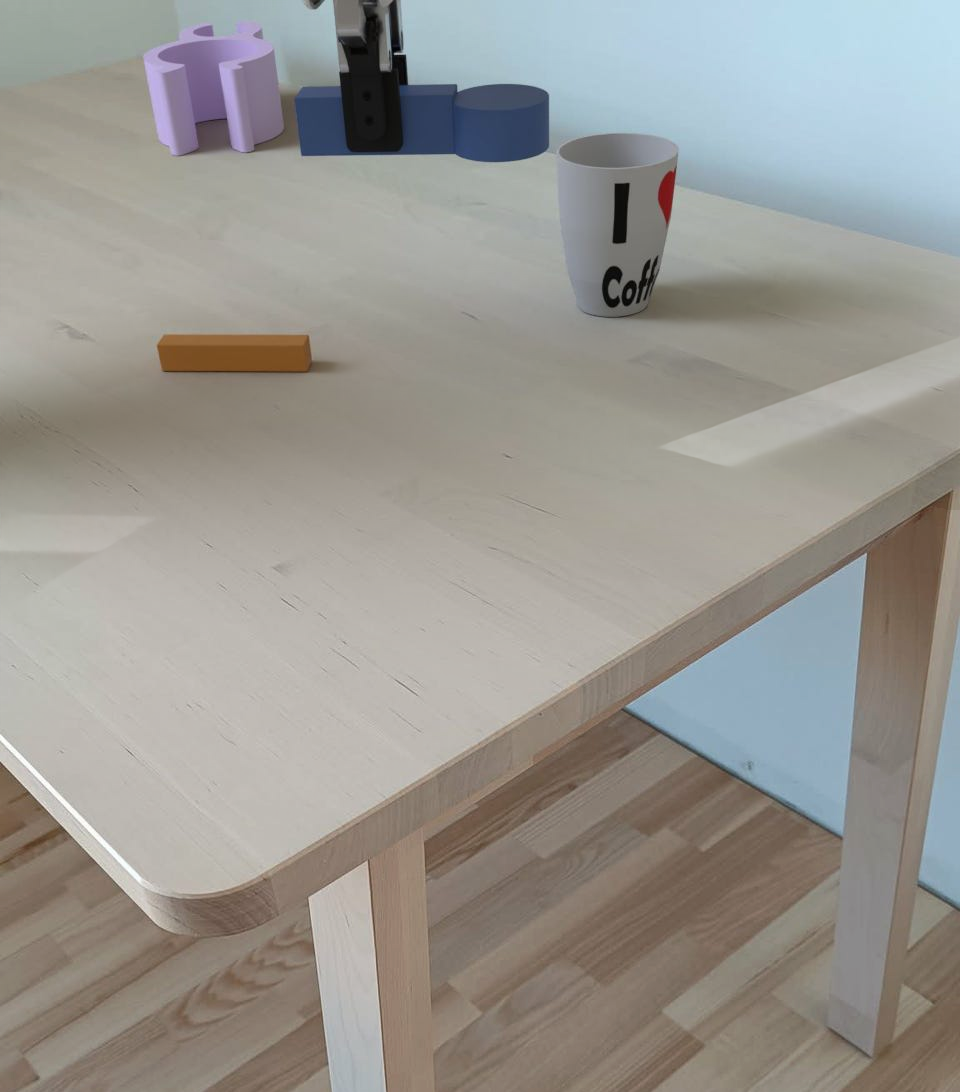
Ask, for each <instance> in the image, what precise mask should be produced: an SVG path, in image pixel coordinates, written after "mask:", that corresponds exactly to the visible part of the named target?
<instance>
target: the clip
mask: <svg viewBox="0 0 960 1092" xmlns="http://www.w3.org/2000/svg"><path fill="white" fill-rule="evenodd" d="M262 27H263V26H262V25H261V24H259V23H257V22H252V21H246V20H242V21H237V22H235V28H236V33H234V34H230V35H222V36H221V35H219V36H215V33H214V26H213V23H211V22H204V23H197V24H194V25H190V26H187V27H185V28H182V29H181V30H180V31H179V33H178V35H179V36H178V37H179V39H178V40H175V41H172V42H168V43H165V44H161V45H158V46H156V47H154V48H151V49H149V50H148V51H146V52H145V53H144V54H143V55H142V59H143V65H144V69H145V75H146V80H147V86H148V91H149V96H150V101H151V107H152V111H153V116H154V122H155V126H156V132H157V138H158V141H159V142H160V143H161V144H162V145H165V146H167V147H169V150H170V155H172V156H176V157H177V156H178V157H179V156H184V155H186V154H189V153H192V152H194V151H197V149H199V147H200V146H199V141H198V133H197V127H196V124H197V123H201V122H206V121H211V120H212V121H213V120H223V119H224V120H225V119H226V120H227V121H226V122H227V127H228V133H229V139H230V146H231V147H232V149H233V150H234V151H235V150H236V151H238V152H239V153H240V152H241V153H250V152H255V145H259V144H262V143H264V142H268V141H270V140H272V139H274V138H276V137H278V136H279V135H281V134H282V133H283V132H284V129H285V123H284V116H283V109H282V107H283V106H282V101H281V94H280V86H279V78H278V68H277V61H276V55H275V54H276V53H275V46H274V44H273V43H272V42H270V41H268V40H265V39H264V34H263V33H264V32H263V28H262Z"/></svg>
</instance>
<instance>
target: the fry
mask: <svg viewBox="0 0 960 1092" xmlns="http://www.w3.org/2000/svg"><path fill="white" fill-rule="evenodd" d="M311 348H312V347H311V341H310V335H309V334H183V333H182V334H167V333H166V334H163V335H162V336H161V338H160V340H159V341H158V342H157V344H156V349H157V353H158V357H159V362H160V367H161V371H163V372H293V373H295V372H296V373H297V372H302V373H303V372H304V373H305V372H308V370H309V368H310V366H311V364H312V362H313V357H312V349H311Z"/></svg>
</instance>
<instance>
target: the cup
mask: <svg viewBox="0 0 960 1092" xmlns="http://www.w3.org/2000/svg"><path fill="white" fill-rule="evenodd" d="M679 151H680V148H679V146H678V144H676V143H675V142H674V141H672V140H669V139H668V138H665V137H661V136H657V135H652V134H646V133H636V132H609V133H608V132H606V133H597V134H590V135H585V136H580V137H576V138H573V139H570V140H568V141H566V142H563V143H562V144H560V145H559V146H558V147H557V148H556V150H555V159H556V176H557V196H558V199H557V200H558V217H559V225H560V232H561V237H562V243H563V245H562V246H563V250H564V259H565V264H566V270H567V274H568V277H569V281H570V284H571V288H572V291H573V294H574V298H575V302H576V305H577V307H578V309H579V310H580V311H582V312H584V313H586V314H589V315H592V316H597V317H606V318H617V317H625V316H631V315H634V314H637V313H639V312H642V311H643V310H645V309H646V308H647V306H648V304H649V301H650V298H651V295H652V293H653V290H654V286H655V284H656V281H657V278H658V275H659V272H660V270H661V265H662V261H663V257H664V251H665V247H666V242H667V236H668V232H669V228H670V224H671V218H672V210H673V202H674V194H675V186H676V185H675V184H676V176H677V168H678V167H677V166H678V160H679Z"/></svg>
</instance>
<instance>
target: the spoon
mask: <svg viewBox="0 0 960 1092" xmlns="http://www.w3.org/2000/svg"><path fill="white" fill-rule="evenodd" d="M399 90H400V103H401V117H402V131H403V145H402V147H401V149H400V150H399V151H397V152H351V151H350V150H349V149H348V148H347V145H346V135H345V125H344V116H343V106H342V96H341V86H340V85H332V86H331V85H326V86H324V85H322V86H302V87H301V89H300V90H299V91H298V92H297V94H296V95H295V97H294V98H293V101H294V109H295V116H296V117H295V118H296V124H297V133H298V140H299V142H298V143H299V149H300V156H301V157H340V156H341V157H342V156H345V157H347V156H351V157H352V156H415V155H416V156H417V155H418V156H420V155H422V156H424V155H425V156H428V155H455V156H457V157H459V158H462V159H465V160H468V161H473V162H481V163H509V162H517V161H522V160H527V159H532V158H534V157H538V156H540V155H542V154H543V153H545V152H547V151H548V150H549V147H550V93H549V92H548V91H546V90H545V89H543V88H542V87H541V88H540V87H538V86H534V85H528V84H520V83H493V84H492V83H491V84H483V85H477V86H472V87H468V88H463V89H462V90H458V84H457V83H445V84H444V83H441V84H436V83H435V84H408V85H399Z"/></svg>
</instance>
